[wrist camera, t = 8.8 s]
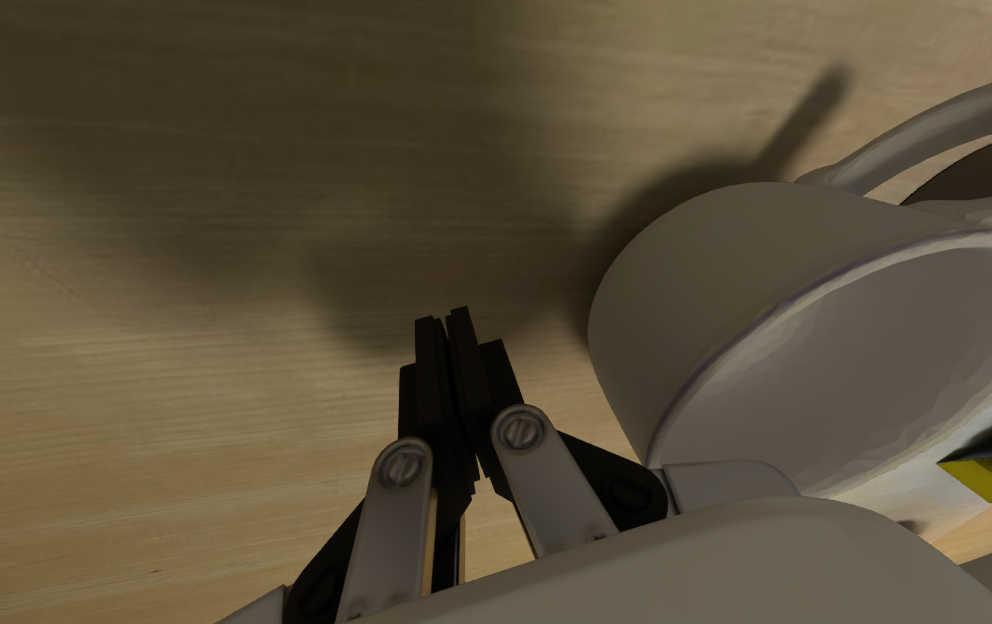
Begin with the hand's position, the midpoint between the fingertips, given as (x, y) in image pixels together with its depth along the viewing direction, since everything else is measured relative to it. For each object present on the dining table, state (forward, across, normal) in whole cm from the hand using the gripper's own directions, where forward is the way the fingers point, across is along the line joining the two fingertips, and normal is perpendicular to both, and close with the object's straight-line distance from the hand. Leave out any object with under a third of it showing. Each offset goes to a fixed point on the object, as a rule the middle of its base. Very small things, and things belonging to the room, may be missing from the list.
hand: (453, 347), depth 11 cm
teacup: (+3, -11, +1) cm, 11 cm away
